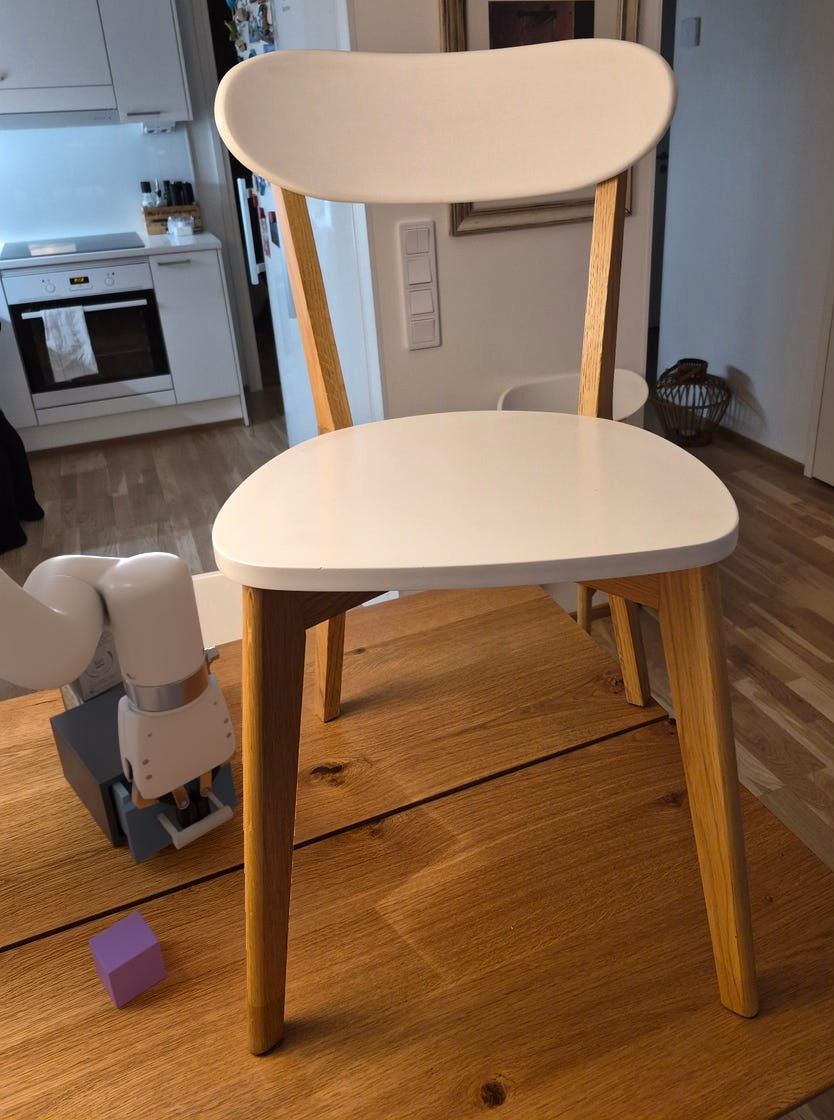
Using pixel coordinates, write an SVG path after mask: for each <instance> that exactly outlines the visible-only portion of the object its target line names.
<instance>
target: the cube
mask: <svg viewBox="0 0 834 1120" xmlns="http://www.w3.org/2000/svg"><path fill="white" fill-rule="evenodd" d="M88 945H89V949H90V953H91V956H92V961H93V963H94V968H95V971H96V975H97V977H98V979H99V980H100V982H101V984H102V986H103V988H104V989H105V991H106V992H107V994H108V996H109V997H110V999H111V1001H112V1002H113V1004H114V1006H115V1008H116V1009H117V1010H119V1009H120V1008H122V1007H123V1006H125V1005H126V1004H128V1003H129V1002H130V1001H132V1000H134V999H135V998H136V997H138V996H139V995H141V994H142V993H144V992H145V991H147V990H149V988H151V987H153V986H155V985H156V984H157V983H160V981H162V980H163V979H165V978H166V977H167V971H166V967H165V963H164V962H165V961H164V957H163V954H162V948H161V946H160V941H159V939H158V938H157V937H156V935H155V934H154V932H153V931H152V929H151V928H150V926H149V924H148V923H147V922H146V920H145V918H144V917H143V916H142V915H141V912H139V910H135V911H134V912H132V913H131V914H129V915H127V916H125V917H124V918H122V919H121V920H119V921H117V922H115V923H114V924H113V925H111V926H110V927H108V928H106V929H104V930H102V931H101V932H100V933H98V934H96V935H95V936H93V937H91V938H90V939H88Z"/></svg>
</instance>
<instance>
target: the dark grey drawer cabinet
mask: <svg viewBox="0 0 834 1120" xmlns="http://www.w3.org/2000/svg"><path fill="white" fill-rule="evenodd" d="M125 695H126V691H125V687H124V686H122V687H120V688H117V689H115V690H113V691H111V692H108V693H106V694H104V695H102V696H99V697H97V698H95V699H92V700H90V701H88V702H86V703H83V704H81V705H79V706H76V707H74V708H72V709H70V710H67V711H63V712H61V713H58V714H56V715H53V716H52V717H49V723H50V724H49V725H50V727H51V731H52V733H53V734H52V735H53V738H54V742H55V746H56V749H57V750H56V751H57V754H58V758H59V761H60V765H61V769H62V772H63V777H64V778H65V780H66V782H67V783H68V784H69V786H70V788H72V791H73V792H74V793H75V794H76V796H77V797H78V798H79V800H80V801H81V802H82V804H83V805H84V808H86V810H87V811H88V813H89V814H90V816H91V817H92V818H93V820H94V821H95V822H96V824H97V826H98V827H99V828H100V830H101V831H102V833H103V834H104V835H105V837H106V838H107V839H108V841H109V842H110V844H111V845H112V846H113V848H116V847H118V846H120V845H121V844H123V843H126V842H128V838H127V835H126V834H125V832H124V831H123V830H122V828H121V827H120V826H119V824H118V823H117V822H116V819H115V814H114V810H113V806H112V802H111V798H110V794H109V789H108V787H109V786H110V785H112V784H114V783H116V782H118V781H120V780H122V779H124V778H126V776H125V774H124V771H123V766H122V760H121V753H120V745H119V734H118V706H119V701H120V699H121V698H122V697H124V696H125Z"/></svg>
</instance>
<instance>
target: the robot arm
mask: <svg viewBox="0 0 834 1120" xmlns="http://www.w3.org/2000/svg"><path fill="white" fill-rule="evenodd" d="M194 586H195V585H194V580H193V576H192V571H191V569H190V566H189V565H188V563H187V562H186V561H185V560H184V559H183V558H182V557H180V556H179V555H176V554H173V553H170V552H163V551H154V552H144V553H140V554H136V555H132V556H130V557H110V556H98V555H97V556H96V555H84V554H64V555H58V556H54V557H50V558H48V559H45V560H43V561H42V562H41V563H39V564H38V565H37V566H35V567H34V569H33V570H32V571H31V572H30V574H29V575H28V577H27V579H26V580H25V582H24V584H23V586H20V585H19V584H18V583H17V582H16V581H14V579H12V578H11V577H10V576H9V575H8V574H7V573H6V572H5V571H4V570H3V569H2V568H1V567H0V679H2V680H4V681H6V682H8V683H10V684H13V685H15V686H19V687H22V688H25V689H28V690H37V691H47V690H48V691H52V690H56V689H60V687H63V686H65V685H67V684H70V683H71V682H73V681H74V680H76V679H77V678H78V677H80V675H81V674H82V673H83V672H84V671H85V670H86V669H87V667H88V666H89V664H90V662H91V660H92V658H93V656H94V653H95V650H96V648H97V645H98V642H99V639H100V636H101V633H102V632H103V631H110V632H111V633H112V634H113V637H114V642H115V646H116V651H117V655H118V660H119V664H120V669H121V673H122V678H123V682H124V687H125V691H126V695H125V696H124V697H122V698H121V699H120V701H119V706H118V734H119V745H120V753H121V760H122V766H123V771H124V774H125V776H126V778H127V780H128V781H129V782H131V781H133V786H132V802H133V803H134V805H135V806H136V807H137V808H138V809H142V808H145V807H148V806H151V805H154V804H156V803H157V802H161V803H165V804H169V805H174V808H175V813H176V818H177V821H178V823H179V825H180V826H181V828H182V829H184V828H186V827H187V828H188V827H189V826H191V825H193V824H195V823H196V822H198V821H200V820H202V819H203V818H205V817H207V815H209V814H210V813H211V810H210V805H209V800H208V795H209V794H210V793H211V790H212V782H213V781H214V779H215V777H216V776H217V774H218V772H219V771H220V768H221V767H222V768H223V767H224V766H225V765H226V764H228V763H229V762H230V763H231V762H232V761H233V760H234V759H235V758H236V757H237V756H238V755H237V754H238V752H237V750H236V746H237V745H236V744H237V743H236V742H237V741H236V735H235V731H234V726H233V722H232V718H231V713H230V711H229V708H228V704H227V701H226V698H225V696H224V693H223V691H222V689H221V688H222V687H220V686H221V685H220V684H219V680H218V679H217V677H216V675H215V673H214V672H212V670H211V664H213V663H214V661H216V660H218V659H220V652H219V650H218V648H217V647H216V646H214V645H213V646H211V647H205V645H204V640H203V632H202V627H201V622H200V621H201V620H200V615H199V610H198V604H197V598H196V591H195V587H194ZM187 782H189V784H188V785H186V786H185V787H186V789H185V788H184V786H183V785H184V784H185V783H187Z"/></svg>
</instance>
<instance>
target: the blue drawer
mask: <svg viewBox="0 0 834 1120" xmlns="http://www.w3.org/2000/svg"><path fill="white" fill-rule="evenodd" d="M188 784H189V782H187V783H185V784H184V785H183V786H184V788H185V789H186V787H185V786H186V785H188ZM132 786H133V781H131V782H129V781H128V780H127V778H124V779H122V780H120V781H118V782H116V783H114V784H112V785H110V786H109V787H108V789H109V794H110V798H111V802H112V806H113V810H114V814H115V819H116V822H117V823H118V824H119V826H120V827H121V828H122V830H123V831H124V832H125V834H126V835H127V838H128V840H127V842H128V846H129V850H130V855H131V858H132V859H133V861H134V862H135V864H139V863H141V862H143V861H144V860H146V859H147V858H149V857H151V856H152V855H155V854H156V853H157V852H160V851H161V850H163V849H165V848H167V847H168V846H169V845H172V844H173V846H174V847H175V849H177V850H180V849H182V848H183V847H185V846H187V845H189V844H190V843H192V842H194V841H196V840H197V839H199V838H200V837H202V836H204V835H205V834H208V833H209V832H212V831H213V830H214V829H216V828H218V827H219V826H222V825H223V824H224V823H226V822H228V821H230V820H231V819H233V818H234V812H233V810H232V809H235V808H236V807H238V803H237V797H236V789H235V785H234V779H233V772H232V766H231V761H230V762H229V763H228V764H226V765H225V766H224V767H223V768H222V767H221V768H220V771H219V772H218V774H217V776H216V777H215V779H214V781H213V782H212V790H211V793H210V794H209V795H208V800H209V805H210V810H211V813H210V814H209V815H207V817H205V818H203V819H202V820H200V821H198V822H196V823H195V824H193V825H191V826H189V827H188V828H187V827H186V828H184V829H182V828H181V826H180V825H179V823H178V821H177V818H176V813H175V808H174V805H169V804H165V803H161V802H157V803H156V804H154V805H151V806H148V807H145V808H142V809H138V808H137V807H136V806H135V805H134V803H133V802H132Z"/></svg>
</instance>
